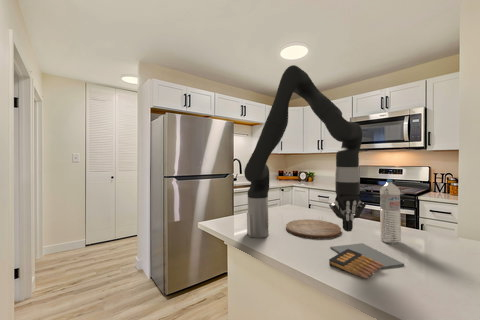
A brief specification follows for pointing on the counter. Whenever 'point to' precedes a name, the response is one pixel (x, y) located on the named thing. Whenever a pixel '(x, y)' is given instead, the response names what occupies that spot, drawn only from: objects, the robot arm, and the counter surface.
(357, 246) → the slate mat
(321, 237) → the trivet
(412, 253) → the counter surface
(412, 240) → the counter surface
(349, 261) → the ammunition clip
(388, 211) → the water bottle
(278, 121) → the robot arm
